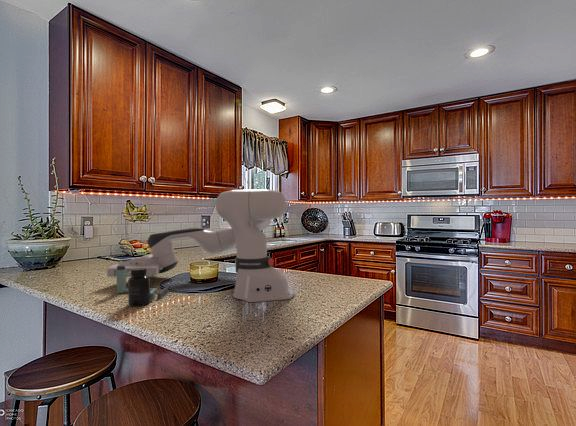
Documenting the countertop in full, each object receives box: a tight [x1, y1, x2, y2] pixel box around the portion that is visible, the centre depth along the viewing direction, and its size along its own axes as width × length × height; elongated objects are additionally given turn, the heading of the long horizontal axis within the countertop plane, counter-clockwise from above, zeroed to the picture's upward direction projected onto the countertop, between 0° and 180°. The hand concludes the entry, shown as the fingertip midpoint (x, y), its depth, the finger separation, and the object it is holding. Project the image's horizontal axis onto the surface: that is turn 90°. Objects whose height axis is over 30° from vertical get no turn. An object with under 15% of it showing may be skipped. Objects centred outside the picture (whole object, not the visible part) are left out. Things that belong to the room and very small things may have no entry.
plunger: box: [116, 265, 159, 301], centre depth 120 cm, size 18×13×10 cm
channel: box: [156, 287, 169, 300], centre depth 120 cm, size 10×8×2 cm
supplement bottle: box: [127, 268, 151, 307], centre depth 111 cm, size 7×7×12 cm
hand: (125, 274), depth 128 cm, fingers closed
